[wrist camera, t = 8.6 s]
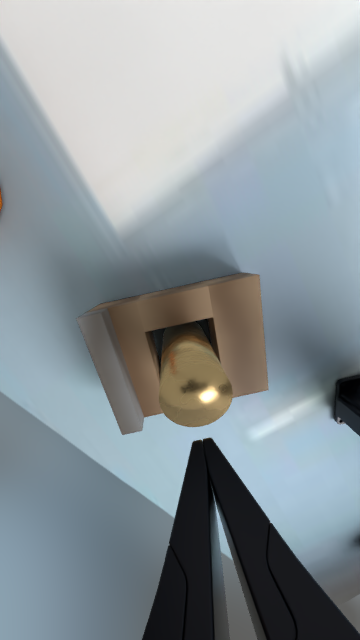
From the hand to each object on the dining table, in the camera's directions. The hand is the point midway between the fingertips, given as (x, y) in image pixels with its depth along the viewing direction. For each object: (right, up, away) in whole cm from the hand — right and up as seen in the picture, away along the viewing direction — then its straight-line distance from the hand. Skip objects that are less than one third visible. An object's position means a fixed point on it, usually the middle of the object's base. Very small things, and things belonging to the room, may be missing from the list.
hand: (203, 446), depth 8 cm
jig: (-1, +3, +11) cm, 12 cm away
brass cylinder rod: (-1, +4, +11) cm, 12 cm away
